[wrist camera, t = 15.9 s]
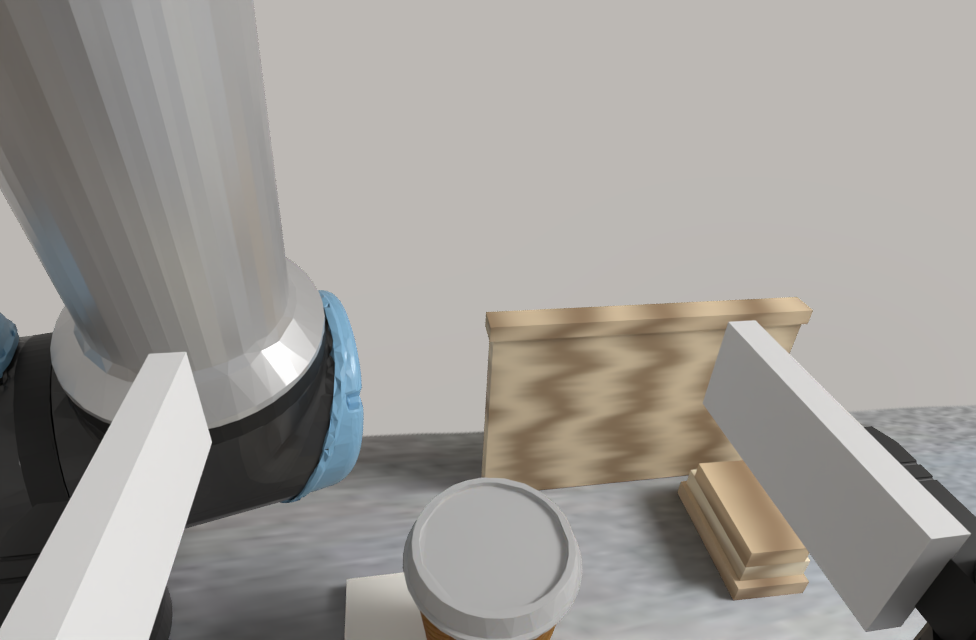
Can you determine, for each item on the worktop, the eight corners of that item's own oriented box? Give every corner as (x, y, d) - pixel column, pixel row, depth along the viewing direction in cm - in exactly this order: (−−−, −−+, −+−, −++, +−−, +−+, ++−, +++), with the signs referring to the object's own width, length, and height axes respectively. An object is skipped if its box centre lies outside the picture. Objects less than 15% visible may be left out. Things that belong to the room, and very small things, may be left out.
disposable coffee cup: (500, 568, 43) (512, 449, 36) (590, 684, 36) (624, 564, 30) (381, 640, 38) (370, 517, 31) (460, 788, 31) (467, 671, 25)
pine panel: (480, 498, 49) (490, 327, 40) (477, 480, 51) (486, 312, 42) (747, 471, 53) (812, 310, 44) (736, 455, 55) (797, 297, 46)
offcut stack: (732, 602, 42) (751, 561, 40) (676, 494, 51) (689, 454, 48) (801, 594, 43) (824, 554, 41) (735, 489, 52) (751, 450, 49)
